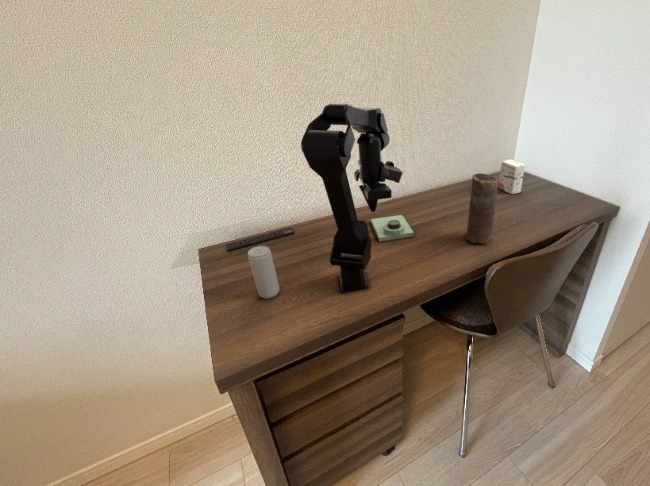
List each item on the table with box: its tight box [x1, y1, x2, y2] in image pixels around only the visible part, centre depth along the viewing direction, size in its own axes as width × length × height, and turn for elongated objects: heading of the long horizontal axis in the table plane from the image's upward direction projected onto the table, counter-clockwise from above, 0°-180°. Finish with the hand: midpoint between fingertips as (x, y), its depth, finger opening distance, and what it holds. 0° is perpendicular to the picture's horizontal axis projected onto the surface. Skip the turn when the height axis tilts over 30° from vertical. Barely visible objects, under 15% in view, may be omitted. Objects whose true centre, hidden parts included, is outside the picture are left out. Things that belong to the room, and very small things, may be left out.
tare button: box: [388, 220, 400, 229], centre depth 100 cm, size 4×4×2 cm
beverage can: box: [247, 245, 280, 299], centre depth 74 cm, size 5×5×12 cm
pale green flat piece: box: [370, 214, 415, 242], centre depth 103 cm, size 13×11×3 cm
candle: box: [466, 173, 499, 244], centre depth 93 cm, size 8×7×20 cm
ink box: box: [497, 159, 526, 195], centre depth 130 cm, size 9×5×12 cm, turn 25°
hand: (373, 211), depth 91 cm, fingers closed
